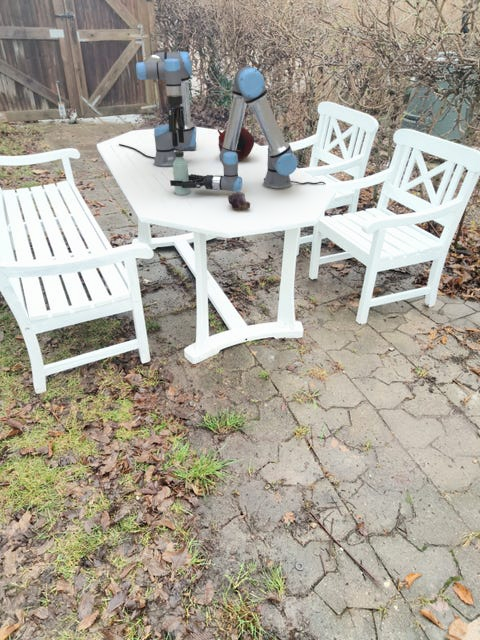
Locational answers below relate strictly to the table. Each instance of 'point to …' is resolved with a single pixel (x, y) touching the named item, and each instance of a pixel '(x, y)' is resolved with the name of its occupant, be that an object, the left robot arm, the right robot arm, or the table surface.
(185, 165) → the bottle
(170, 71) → the left robot arm
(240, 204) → the rock
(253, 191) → the table surface
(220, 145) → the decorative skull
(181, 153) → the cap
